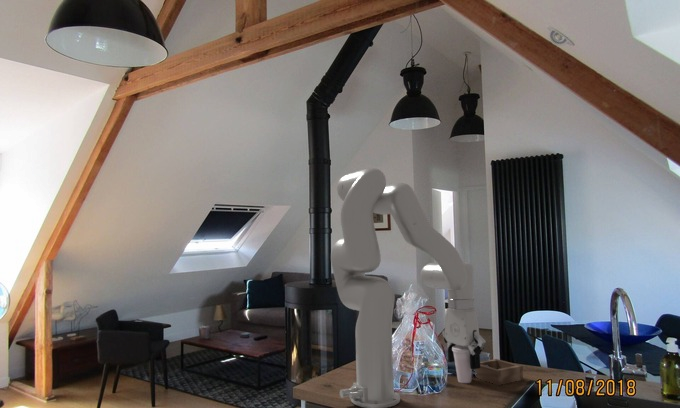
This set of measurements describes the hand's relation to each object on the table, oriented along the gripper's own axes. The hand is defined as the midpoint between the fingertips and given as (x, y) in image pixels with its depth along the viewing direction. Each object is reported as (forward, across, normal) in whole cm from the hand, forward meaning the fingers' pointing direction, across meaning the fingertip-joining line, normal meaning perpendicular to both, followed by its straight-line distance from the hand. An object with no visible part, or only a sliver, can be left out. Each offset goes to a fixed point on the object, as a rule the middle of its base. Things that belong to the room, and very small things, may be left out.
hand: (463, 364), depth 136 cm
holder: (+5, +3, +10) cm, 11 cm away
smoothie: (+5, 0, 0) cm, 5 cm away
